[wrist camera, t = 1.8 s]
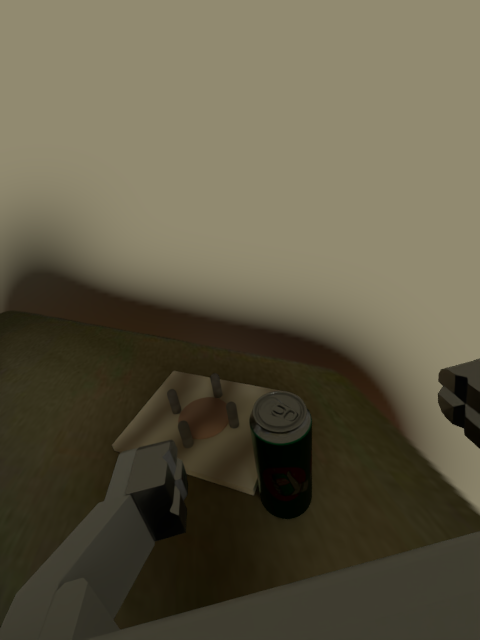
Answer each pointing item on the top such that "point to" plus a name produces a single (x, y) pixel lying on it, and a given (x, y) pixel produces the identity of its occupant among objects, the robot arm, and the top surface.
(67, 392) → the top surface
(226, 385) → the can tray
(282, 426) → the soda can
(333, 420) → the top surface
